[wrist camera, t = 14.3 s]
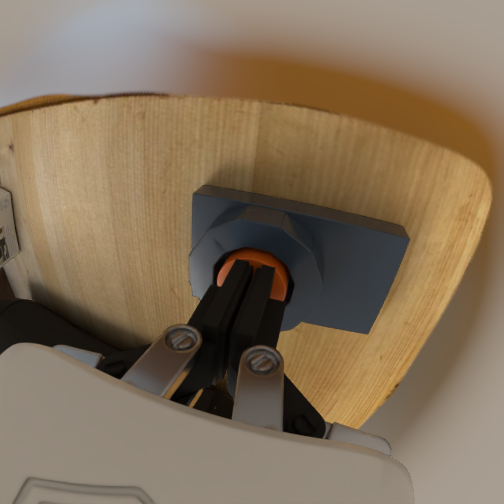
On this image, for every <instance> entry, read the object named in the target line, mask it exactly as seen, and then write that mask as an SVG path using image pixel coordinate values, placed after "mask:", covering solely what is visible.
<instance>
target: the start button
mask: <svg viewBox="0 0 504 504" xmlns="http://www.w3.org/2000/svg"><path fill="white" fill-rule="evenodd" d="M236 259H240V260H244V261H249V265H251V266H253V274H252V278H253V275H254V273H255V270H256V268H257V267H260V268H262V265H267V266H272V267H276V269H275V274H274V280H273V285H272V290H271V295H270V298H271V299H276V300H280V301H284V299H285V296H286V292H287V287H288V283H289V278H290V272H289V270H288V267H287V265H286V264H284V263H283V262H282V261H281V260H279V259H278V258H277V257H275V256H274V255H273V254H272V253H270V252H269V251H264V250H259V249H255V248H250V247H243V248H240V249H236V250H233V251H231V252H230V254H229V256H228V258H227V259H226V261H225V263H224V264H223V266H222V268H221V270H220V272H219V274H218V278H217V285H218V286H220V287H221V286H222V284H223V282H224V280H225V278H226V276H227V274H228V273H229V271H230V269H231V267H232V265H233V263H234V261H235V260H236Z"/></svg>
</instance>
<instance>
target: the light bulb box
mask: <svg viewBox="0 0 504 504" xmlns="http://www.w3.org/2000/svg"><path fill="white" fill-rule="evenodd" d="M18 254H19V247H18V242H17V237H16V232H15V226H14V220H13V213H12V205H11V195H10V193H9V192H7V191H5V190H3V189H1V188H0V268H1V267H2V266H3V265H5V264H6V263H7V262H8V261H10V260H11V259H12V258H14V257H15V256H16V255H18Z"/></svg>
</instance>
